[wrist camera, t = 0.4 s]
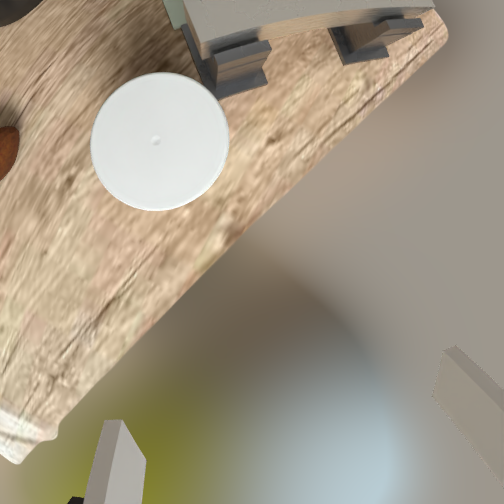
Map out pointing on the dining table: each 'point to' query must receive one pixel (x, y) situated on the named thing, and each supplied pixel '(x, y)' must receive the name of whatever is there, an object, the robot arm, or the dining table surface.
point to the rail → (283, 18)
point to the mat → (175, 12)
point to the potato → (8, 149)
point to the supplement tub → (159, 141)
